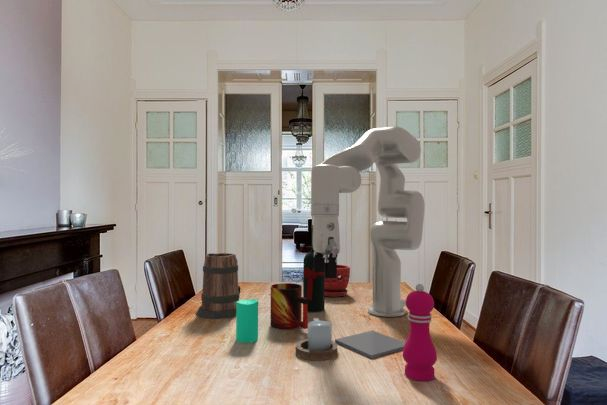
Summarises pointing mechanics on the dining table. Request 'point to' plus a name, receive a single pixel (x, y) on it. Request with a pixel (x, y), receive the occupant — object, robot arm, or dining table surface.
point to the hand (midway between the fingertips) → (324, 274)
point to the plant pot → (337, 282)
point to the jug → (319, 335)
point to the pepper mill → (419, 337)
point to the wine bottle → (313, 283)
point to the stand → (315, 354)
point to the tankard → (219, 287)
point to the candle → (247, 320)
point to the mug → (288, 307)
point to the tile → (371, 344)
